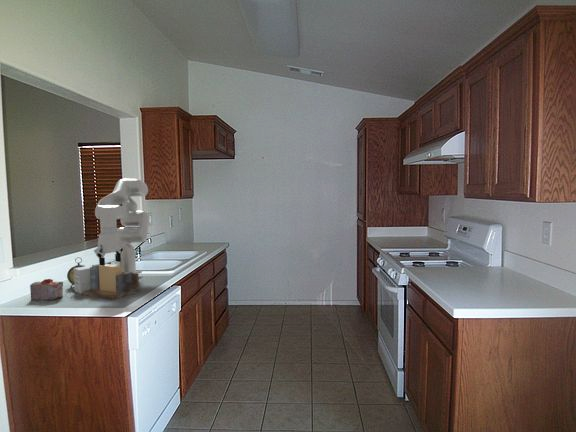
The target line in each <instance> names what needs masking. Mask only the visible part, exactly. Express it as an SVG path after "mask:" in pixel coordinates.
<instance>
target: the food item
mask: <svg viewBox="0 0 576 432" xmlns="http://www.w3.org/2000/svg"><path fill="white" fill-rule="evenodd" d="M63 286H64V281H54V279H51V278H47V279H46V278H45V279H43V280H42V281H34V282H33V283H30V285H29V289H30V301H43V302H44V301H48V300H49V301H50V300H51V301H53V300H58V299H60V298H63V295H64V294H63V293H64V292H63V291H64V290H63Z"/></svg>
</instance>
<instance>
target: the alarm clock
mask: <svg viewBox="0 0 576 432" xmlns="http://www.w3.org/2000/svg"><path fill="white" fill-rule="evenodd" d="M74 259H75V260H74V261H75V263H76V265H74V266H72V267H70V269H69V270H68V272H67V274H66V276H67V277H66V278H67V281H68V282H69V284H71V285H70V288H72V287H73V286H75V282H74V268H79V267H85V266H86V265H84V264H81V263H82V262H83V259H82V257H75V258H74ZM78 259H80V262H77V260H78Z"/></svg>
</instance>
